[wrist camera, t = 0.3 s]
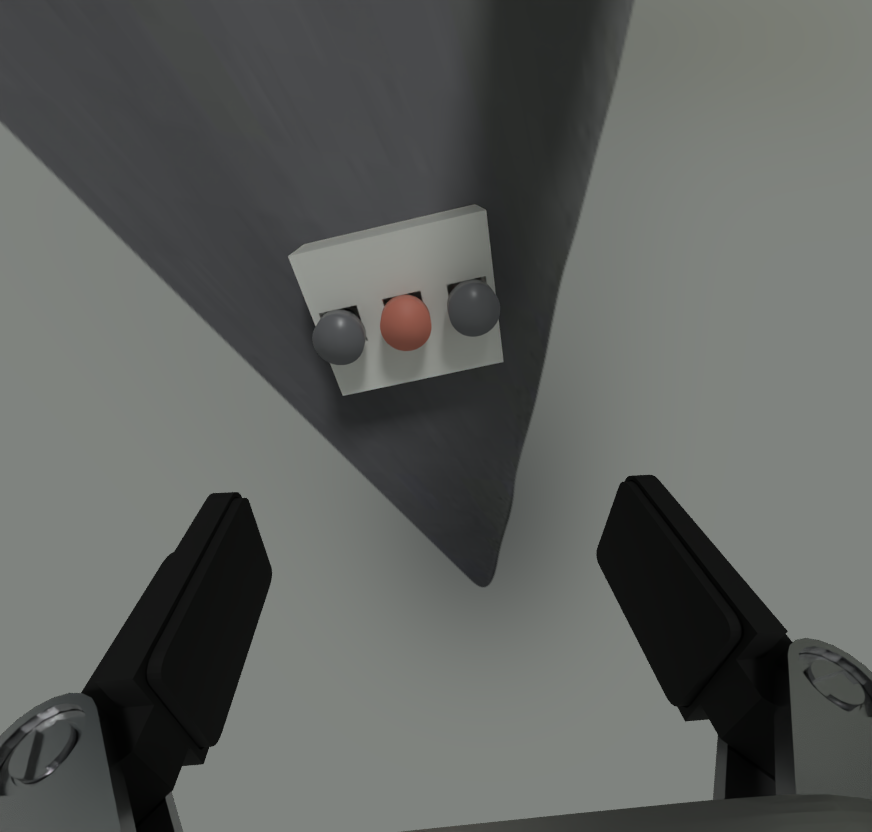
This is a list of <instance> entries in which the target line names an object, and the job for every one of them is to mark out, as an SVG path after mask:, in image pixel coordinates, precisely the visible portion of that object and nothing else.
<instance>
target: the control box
mask: <svg viewBox="0 0 872 832" xmlns="http://www.w3.org/2000/svg"><path fill="white" fill-rule="evenodd" d="M288 257H289V260H290V263H291V265H292V268H293V270H294V273H295V275H296V278H297V280H298V283H299V285H300V288H301V291H302V293H303V296H304V298H305V301H306V303H307V306H308V308H309V311H310V314H311V316H312V319H313V321H314V324H315V326H316V325H317V323H318V322H319V320H320V318H321V317H322V316H323V315H324V314H326V313H327V312H329V311H332V310H341V309H350V310H352V311H354V312H355V313H356V314H357V316H358V318H359V319H360V320H361V321H362V323H363V325H364V327H365V330H366V340H365V345H364V349H363V352H362V354H361V356H360V357H359V358H358V359H357V360H356V361H354V362H353V363H350V364H347V365H335V364H331V363H330V365H331V367H332V370H333V372H334V375H335V377H336V380H337V382H338V385H339V387H340V390H341V393H342V395H343V396H345V395H349V394H354V393H359V392H364V391H368V390H373V389H378V388H383V387H387V386H392V385H397V384H401V383H406V382H411V381H416V380H420V379H425V378H430V377H435V376H439V375H444V374H449V373H453V372H458V371H463V370H468V369H472V368H477V367H482V366H487V365H491V364H496V363H501V362H503V353H502V345H501V336H500V327H499V319H498V321H497V323H496V325H495V326H494V327H493V328H492V329H491V330H490V331H489V332H487V333H485V334H483V335H481V336H476V337H470V336H465V335H462V334H461V333H459V332H458V331H457V330H455V328H454V327H453V326H452V324H451V321H450V318H449V315H448V311H447V300H448V297H449V295H450V293H451V291H452V290H453V289H454V288H455V287H456V286H457V285H458V284H460V283H461V282H463V281H466V280H480V281H483V282H485V283H486V284H488V285H489V286H490V287H491V289H492V290H493V291H494V293H495V294H496V292H495V283H494V274H493V265H492V256H491V248H490V239H489V230H488V221H487V212H486V210H485V209H484V208H482V207H480V206H478V205H476V204H473V205H469V206H465V207H460V208H456V209H452V210H448V211H443V212H439V213H435V214H431V215H426V216H422V217H418V218H414V219H409V220H405V221H401V222H396V223H392V224H388V225H384V226H379V227H375V228H371V229H367V230H362V231H358V232H354V233H350V234H345V235H341V236H337V237H333V238H328V239H324V240H320V241H316V242H311V243H307V244H304V245H302V246H301V247H300V248H298V249H297V250H296V251H294V252H293V253H292V254H290V255H289V256H288ZM399 295H411V296H415V297H417V298H419V299H420V300H421V301H423V302H424V304H425V305H426V306H427V308H428V310H429V313H430V318H431V326H432V328H431V334H430V336H429V338H428V340H427V341H426V343H425V344H424V345H422V346H421V347H419V348H418V349H415V350H412V351H401V350H397V349H395V348H393V347H391V346H390V345H389V344H388V343H387V342H386V341H385V340H384V338H383V336H382V334H381V330H380V321H381V315H382V311H383V308H384V306H385V305H386V303H387V302H388V301H389V300H391V299H392V298H394V297H396V296H399Z"/></svg>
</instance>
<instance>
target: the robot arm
mask: <svg viewBox="0 0 872 832" xmlns="http://www.w3.org/2000/svg"><path fill="white" fill-rule="evenodd" d="M597 560H598V563H599V565H600V567H601V570H602V572H603V573H604V575H605V577H606V579H607V581H608V583H609V585H610V587H611V589H612V591H613V593H614V595H615V597H616V599H617V601H618V603H619V605H620V607H621V609H622V611H623V613H624V615H625V617H626V618H627V620H628V622H629V625H630V627H631V628H632V630H633V632H634V634H635V636H636V638H637V640H638V642H639V644H640V646H641V648H642V650H643V652H644V654H645V656H646V658H647V660H648V662H649V664H650V666H651V668H652V670H653V672H654V674H655V675H656V678H657V680H658V682H659V683H660V685H661V687H662V689H663V691H664V693H665V695H666V697H667V699H668V700H669V701H670V703H671V704H673V705H674V706H677V707H678V709H679V710H680V712H681V714H682V716H683V718H684V720H685V721H694V720H705V719H709V720H710V721H711V723H712V725H713V726H714V728H715V730H716V732H717V734H718V740H717V741H718V742H717V754H716V767H715V781H714V793H713V800H709V801H698V802H688V803H677V804H667V805H658V806H648V807H637V808H627V809H617V810H607V811H597V812H587V813H576V814H566V815H558V816H547V817H537V818H528V819H519V820H508V821H499V822H489V823H480V824H471V825H460V826H451V827H441V828H432V829H423V830H413V831H405V832H872V672H871V671H870V670H869V669H868V668H867V667H866V666H865V665H863V664H862V663H860V662H859V661H858V660H856V659H855V658H854V657H852V656H851V655H850V654H848V653H846V652H844V651H843V650H841V649H839V648H837V647H835V646H834V645H831V644H828V643H825V642H823V641H820V640H814V639H809V638H804V639H798V640H795V641H794V642H792V641H791V640H790V639H789V638H788V637H787V635H786V633H787V630H786V629H785V628H784V626H782V624H781V623H780V622H779V621H778V619H777V618H776V617H775V616H774V615H773V614H772V612H771V611H770V610H769V609H768V608H767V607H766V605H765V604H764V603H763V602H762V601H761V599H760V598H759V597H758V596H757V595H756V594H755V593H754V591H753V590H752V589H751V588H750V587H749V585H748V584H747V583H746V582H745V581H744V580H743V578H742V577H741V576H740V575H739V574H738V572H737V571H736V570H735V569H734V568H733V567H732V565H731V564H730V563H729V562H728V561H727V559H726V558H725V557H724V556H723V555H722V554H721V552H720V551H719V550H718V549H717V548H716V547H715V545H714V544H713V543H712V542H711V541H710V540H709V538H708V537H707V536H706V535H705V534H704V533H703V531H702V530H701V529H700V528H699V527H698V526H697V524H696V523H695V522H694V521H693V519H692V518H691V517H690V516H689V515H688V514H687V512H686V511H685V510H684V509H683V508H682V507H681V506H680V504H679V503H678V502H677V501H676V500H675V498H674V497H673V496H672V495H671V494H670V492H668V490H667V489H666V488H665V487H664V485H662V483H661V482H660V481H659V480H658V479H657V478H656V477H655V476H653V475H638V476H628V477H627V478H626V480H625V482H622V483H621V484H620V486H619V488H618V491H617V494H616V497H615V499H614V502H613V505H612V508H611V511H610V514H609V517H608V520H607V522H606V525H605V528H604V531H603V534H602V536H601V540H600V542H599V545H598V548H597ZM271 578H272V569H271V565H270V562H269V560H268V556H267V553H266V550H265V547H264V544H263V541H262V539H261V536H260V533H259V530H258V527H257V524H256V521H255V518H254V515H253V512H252V509H251V506H250V503H249V500H248V499H247V498H242V497H241V495H240V494H239V493H238V492H232V493H213V494H211V495H209V496H208V498H207V499H206V501H205V502H204V504H203V506H202V508H201V509H200V511H199V512H198V514H197V516H196V517H195V519H194V520H193V522H192V524H191V526H190V527H189V529H188V530H187V532H186V534H185V535H184V537H183V538H182V540H181V542H180V543H179V545H178V547H177V548H176V550H175V552H173V553H171V554H170V555H169V556H168V557H167V558H166V559H165V560H164V562H163V563H162V564H161V566H160V568H159V570H158V571H157V572H156V574H155V576H154V577H153V579H152V581H151V582H150V584H149V586H148V587H147V588H146V590H145V592H144V593H143V595H142V596H141V598H140V600H139V601H138V603H137V604H136V606H135V608H134V609H133V611H132V612H131V614H130V616H129V617H128V619H127V621H126V622H125V624H124V626H123V627H122V628H121V630H120V632H119V633H118V635H117V636H116V638H115V640H114V642H113V643H112V645H111V646H110V648H109V649H108V651H107V652H106V654H105V656H104V657H103V659H102V660H101V662H100V664H99V665H98V667H97V669H96V670H95V672H94V673H93V675H92V676H91V678H90V680H89V681H88V683H87V684H86V686H85V688H84V689H83V691H82V692H81V693H68V694H64V695H61V696H57V697H54V698H51V699H49V700H48V701H46V702H44V703H42V704H40V705H38V706H36V707H34V708H33V709H31V710H30V711H29V712H27V713H26V714H24V715H23V716H22V717H20V718H19V719H17V720H16V721H15V722H14V723H13V724H12V725H11V726H10V727H9V728H8V729H7V730H6V731H5V732H3V733H2V735H1V736H0V832H183V829H182V826H181V822H180V819H179V816H178V812H177V809H176V805H175V802H174V798H173V795H172V790H173V788H174V786H175V783H176V780H177V778H178V775H179V772H180V770H181V767H182V766H187V765H199V764H204V761H205V758H206V755H207V752H208V749H209V747H211V746H214V745H216V743H217V742H218V740H219V738H220V736H221V733H222V731H223V727H224V724H225V721H226V718H227V715H228V712H229V709H230V706H231V703H232V700H233V697H234V694H235V691H236V688H237V685H238V682H239V678H240V675H241V672H242V669H243V666H244V663H245V660H246V657H247V653H248V651H249V648H250V645H251V642H252V639H253V635H254V632H255V629H256V626H257V623H258V620H259V617H260V614H261V611H262V608H263V605H264V602H265V599H266V596H267V593H268V589H269V586H270V583H271Z"/></svg>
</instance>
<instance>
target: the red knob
mask: <svg viewBox="0 0 872 832" xmlns="http://www.w3.org/2000/svg"><path fill="white" fill-rule="evenodd" d="M431 328H432V326H431V318H430V313H429V310H428V308H427V306H426V305H425V304H424V302H423V301H421V300H420V299H419V298H417V297H415V296H411V295H399V296H396V297H394V298H392V299H391V300H389V301H388V302H387V303H386V305H385V306H384V308H383V311H382V315H381V321H380V330H381V334H382V336H383V338H384V340H385V341H386V342H387V343H388V344H389V345H390V346H391V347H393V348H395V349H397V350H401V351H412V350H415V349H418V348H419V347H421V346H422V345H424V344H425V343H426V341H427V340H428V338H429V336H430V334H431Z"/></svg>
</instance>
